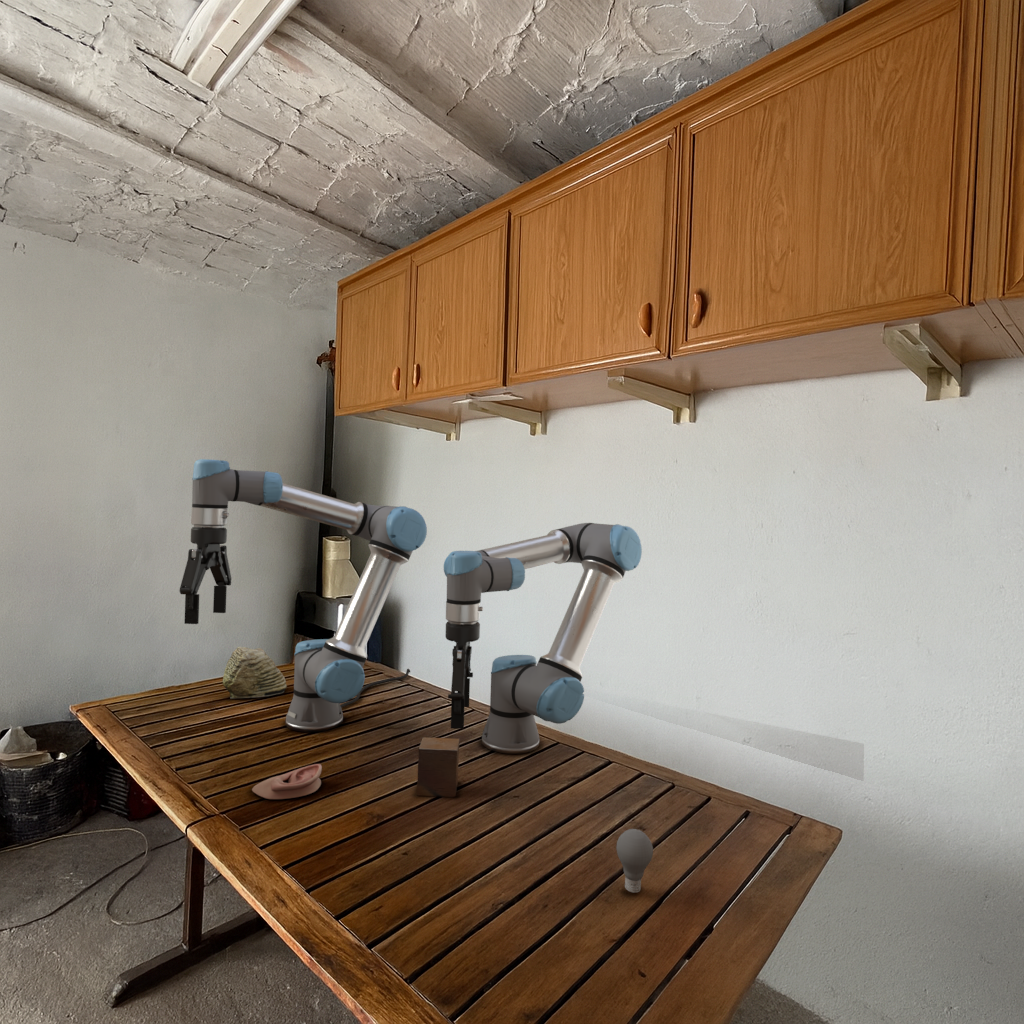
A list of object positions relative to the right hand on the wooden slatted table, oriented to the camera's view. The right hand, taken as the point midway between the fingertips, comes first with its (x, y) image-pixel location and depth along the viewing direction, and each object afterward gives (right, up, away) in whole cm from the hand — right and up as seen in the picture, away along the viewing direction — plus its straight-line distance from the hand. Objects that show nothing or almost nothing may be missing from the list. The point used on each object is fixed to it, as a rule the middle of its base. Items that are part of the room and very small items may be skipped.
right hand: (460, 716), depth 140 cm
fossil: (-69, -12, +58) cm, 91 cm away
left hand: (-60, +21, +7) cm, 63 cm away
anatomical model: (-37, -15, -3) cm, 40 cm away
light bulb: (+32, -18, -34) cm, 50 cm away
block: (-5, -16, -1) cm, 17 cm away
